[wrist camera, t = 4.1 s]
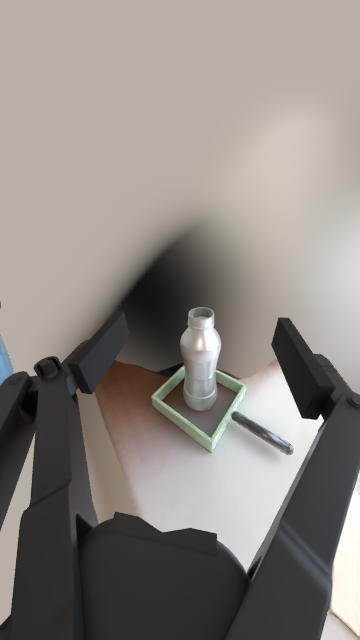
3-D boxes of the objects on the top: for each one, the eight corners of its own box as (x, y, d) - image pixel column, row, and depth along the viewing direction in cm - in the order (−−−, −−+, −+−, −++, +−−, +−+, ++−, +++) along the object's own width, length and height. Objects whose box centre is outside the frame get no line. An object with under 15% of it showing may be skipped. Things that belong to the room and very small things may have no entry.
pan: (152, 406, 36) (150, 396, 35) (192, 366, 45) (191, 357, 43) (277, 505, 24) (282, 497, 22) (298, 423, 32) (303, 413, 31)
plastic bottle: (223, 402, 36) (235, 313, 26) (197, 423, 33) (198, 331, 22) (201, 381, 41) (203, 299, 30) (176, 398, 37) (169, 312, 27)
